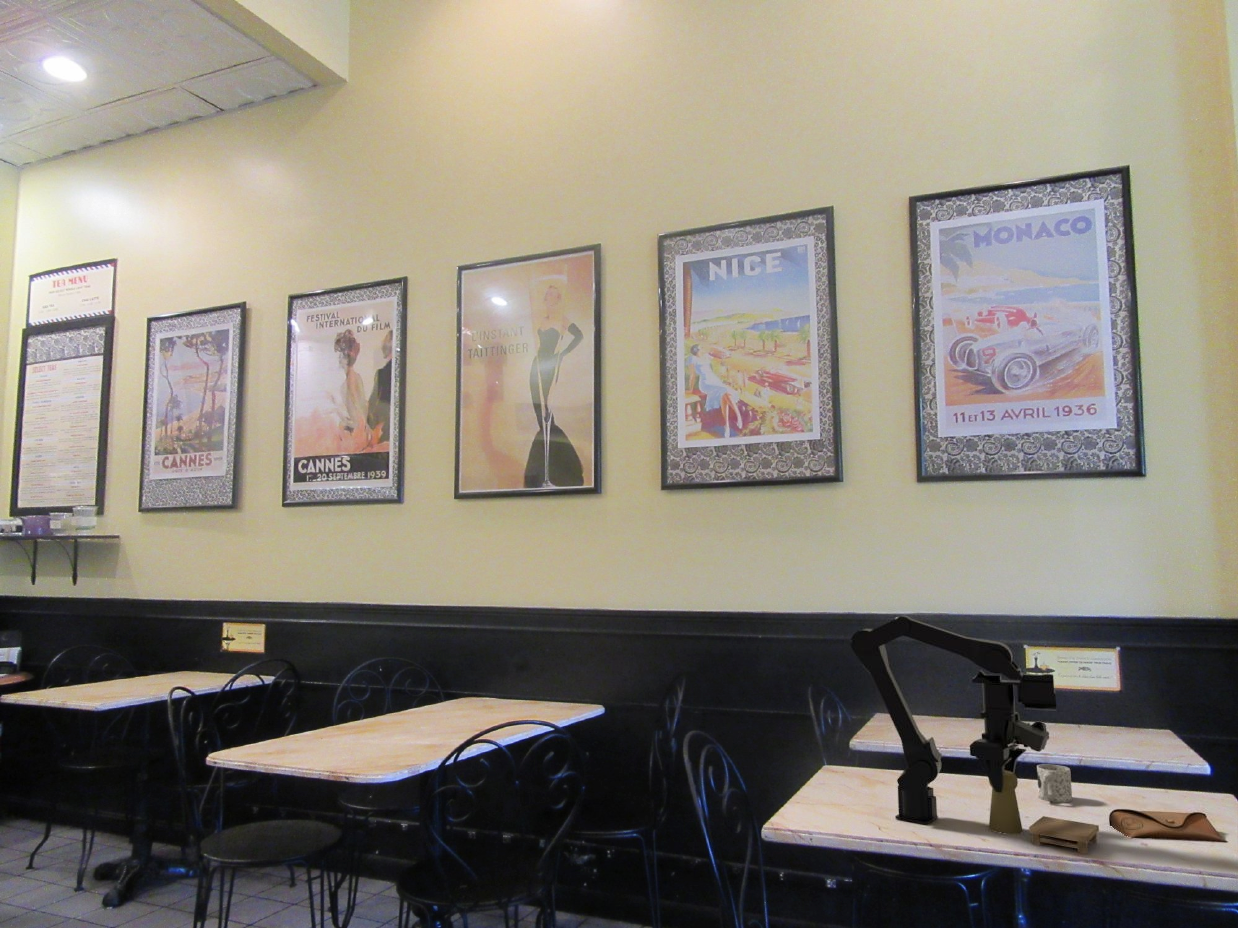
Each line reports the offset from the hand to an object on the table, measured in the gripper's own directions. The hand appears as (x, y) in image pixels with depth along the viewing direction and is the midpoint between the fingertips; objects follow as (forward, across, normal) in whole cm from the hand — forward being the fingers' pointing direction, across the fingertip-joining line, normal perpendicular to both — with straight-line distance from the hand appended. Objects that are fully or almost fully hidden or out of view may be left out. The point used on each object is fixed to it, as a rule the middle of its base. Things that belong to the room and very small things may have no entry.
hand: (1003, 789), depth 169 cm
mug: (+8, +30, -1) cm, 31 cm away
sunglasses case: (+8, +17, -24) cm, 31 cm away
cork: (+8, 0, 0) cm, 8 cm away
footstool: (+8, -2, -11) cm, 13 cm away
